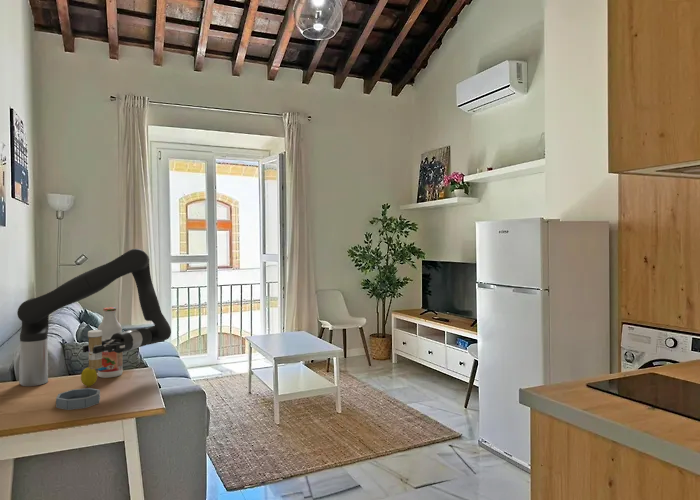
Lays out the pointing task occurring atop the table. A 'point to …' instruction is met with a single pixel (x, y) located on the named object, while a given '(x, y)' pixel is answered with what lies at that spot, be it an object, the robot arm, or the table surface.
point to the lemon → (88, 376)
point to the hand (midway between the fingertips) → (88, 350)
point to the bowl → (78, 398)
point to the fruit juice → (110, 326)
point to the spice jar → (94, 341)
